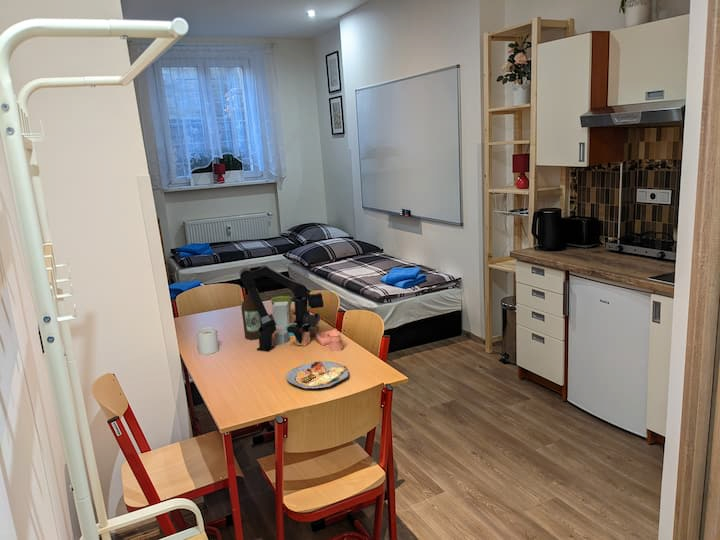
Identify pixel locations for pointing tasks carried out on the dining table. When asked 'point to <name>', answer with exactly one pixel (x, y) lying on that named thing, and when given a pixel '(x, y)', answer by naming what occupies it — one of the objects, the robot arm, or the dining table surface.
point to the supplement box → (281, 314)
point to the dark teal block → (286, 329)
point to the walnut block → (313, 331)
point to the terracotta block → (304, 339)
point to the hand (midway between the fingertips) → (302, 341)
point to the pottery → (330, 339)
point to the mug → (207, 340)
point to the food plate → (318, 368)
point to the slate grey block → (281, 337)
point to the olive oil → (250, 318)
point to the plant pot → (282, 299)
